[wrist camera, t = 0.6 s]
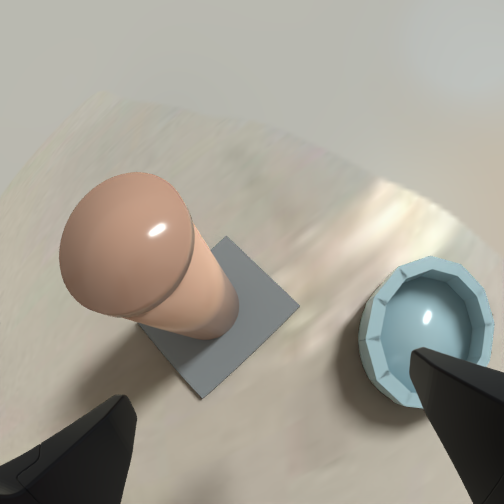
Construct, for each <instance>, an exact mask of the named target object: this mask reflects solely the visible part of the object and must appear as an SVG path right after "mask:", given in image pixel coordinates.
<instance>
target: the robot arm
mask: <svg viewBox="0 0 504 504" xmlns="http://www.w3.org/2000/svg"><path fill="white" fill-rule="evenodd" d="M409 375H410V379H411V381H412V383H413V386H414V388H415V390H416V393H417V395H418V397H419V400H420V402H421V404H422V407H423V409H424V411H425V413H426V415H427V417H428V419H429V421H430V423H431V424H432V426H433V428H434V430H435V431H436V433H437V435H438V437H439V439H440V440H441V442H442V444H443V446H444V448H445V450H446V451H447V453H448V455H449V457H450V459H451V461H452V463H453V464H454V466H455V468H456V470H457V472H458V474H459V476H460V478H461V480H462V482H463V484H464V486H465V488H466V490H467V492H468V494H469V496H470V498H471V500H472V502H473V504H504V372H500V371H497V370H494V369H491V368H487V367H484V366H481V365H478V364H475V363H472V362H468V361H465V360H462V359H459V358H456V357H453V356H450V355H447V354H444V353H441V352H438V351H435V350H432V349H429V348H426V347H421V348H417V349H414V350H413V351H412V352H411V356H410V367H409ZM136 423H137V415H136V412H135V410H134V408H133V406H132V404H131V402H130V400H129V398H128V397H127V396H126V395H114V396H112V397H111V398H110V399H108V400H107V401H105V402H104V403H102V404H101V405H99V406H98V407H96V408H95V409H93V410H92V411H90V412H89V413H87V414H86V415H84V416H83V417H81V418H80V419H78V420H77V421H75V422H73V423H72V424H70V425H69V426H67V427H66V428H64V429H63V430H61V431H60V432H58V433H56V434H55V435H53V436H52V437H50V438H49V439H47V440H45V441H44V442H42V443H41V445H40V444H39V445H37V446H36V447H34V448H33V449H31V450H29V451H28V452H26V453H24V454H23V455H21V456H19V457H17V458H15V459H13V460H11V461H9V462H7V463H5V464H3V465H1V466H0V504H120V503H121V499H122V495H123V490H124V486H125V482H126V478H127V474H128V470H129V466H130V462H131V457H132V452H133V444H134V437H135V430H136Z"/></svg>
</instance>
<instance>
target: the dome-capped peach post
mask: <svg viewBox="0 0 504 504" xmlns="http://www.w3.org/2000/svg"><path fill="white" fill-rule="evenodd" d="M59 262H60V270H61V274H62V278H63V281H64V283H65V285H66V287H67V289H68V291H69V292H70V294H71V295H72V296H73V297H74V298H75V299H76V300H77V301H78V302H79V303H80V304H81V305H83V306H84V307H86V308H88V309H90V310H92V311H95V312H98V313H101V314H104V315H107V316H112V317H118V318H120V317H122V318H125V319H129V320H132V321H135V322H138V323H142V324H145V325H148V326H152V327H155V328H158V329H162V330H165V331H169V332H173V333H176V334H180V335H184V336H187V337H191V338H195V339H199V340H211V339H215V338H218V337H220V336H222V335H224V334H225V333H226V332H227V331H229V330H230V328H231V327H232V326H233V325H234V323H235V321H236V319H237V316H238V313H239V298H238V295H237V292H236V290H235V288H234V287H233V285H232V284H231V282H230V281H229V279H228V277H227V276H226V274H225V273H224V271H223V270H222V268H221V266H220V265H219V263H218V262H217V260H216V259H215V257H214V255H213V254H212V252H211V251H210V249H209V247H208V246H207V244H206V243H205V241H204V239H203V238H202V236H201V235H200V233H199V231H198V230H197V228H196V227H195V225H194V223H193V221H192V217H191V215H190V212H189V210H188V208H187V207H186V205H185V203H184V201H183V200H182V198H181V197H180V195H179V193H178V192H177V191H176V189H175V188H174V187H173V186H172V185H171V184H169V183H168V182H167V181H166V180H164V179H162V178H160V177H158V176H155V175H153V174H148V173H141V172H134V173H126V174H121V175H118V176H115V177H112V178H110V179H108V180H106V181H104V182H102V183H101V184H99V185H98V186H96V187H95V188H93V189H92V190H91V191H90V192H89V193H88V194H86V195H85V197H84V198H83V199H82V200H81V201H80V202H79V203H78V205H77V206H76V207H75V209H74V210H73V212H72V214H71V215H70V217H69V219H68V221H67V223H66V226H65V228H64V231H63V234H62V238H61V243H60V251H59Z"/></svg>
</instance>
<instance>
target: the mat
mask: <svg viewBox="0 0 504 504" xmlns="http://www.w3.org/2000/svg"><path fill="white" fill-rule="evenodd" d="M210 251H211V252H212V254H213V255H214V257H215V259H216V260H217V262H218V263H219V265H220V266H221V268H222V270H223V271H224V273H225V274H226V276H227V277H228V279H229V281H230V282H231V284H232V285H233V287H234V288H235V290H236V292H237V295H238V298H239V313H238V316H237V319H236V321H235V323H234V325H233V326H232V327H231V328H230V330H229V331H227V332H226V333H225V334H224V335H222V336H220V337H218V338H215V339H211V340H199V339H195V338H191V337H187V336H184V335H180V334H176V333H173V332H169V331H165V330H162V329H158V328H155V327H152V326H148V325H145V324H142V323H138V324H139V325H140V326H141V328H142V329H143V330H144V331H145V333H146V334H147V335H148V336H149V338H150V339H151V340H152V341H153V343H154V344H155V345H156V346H157V348H158V349H159V350H160V351H161V352H162V354H163V355H164V356H165V357H166V358H167V360H168V361H169V362H170V363H171V364H172V365H173V367H174V368H175V369H176V370H177V371H178V372H179V373H180V375H181V376H182V377H183V378H184V379H185V380H186V381H187V382H188V384H189V385H190V386H191V387H192V388H193V389H194V390H195V391H196V392H197V393H198V394H199V395H200V397H201V398H202V399H203V398H204V397H205V396H207V395H208V394H209V393H210V392H211V391H212V390H213V389H214V388H216V387H217V386H218V385H219V384H220V383H221V382H222V381H223V380H224V379H225V378H227V377H228V376H229V375H230V374H231V373H232V372H233V371H234V370H235V369H236V368H237V367H238V366H240V365H241V364H242V363H243V362H244V361H245V360H246V359H247V358H248V357H249V356H250V355H251V354H252V353H253V352H254V351H255V350H256V349H257V348H259V347H260V346H261V345H262V344H263V343H264V342H265V341H266V340H267V339H268V338H269V337H270V336H271V335H272V334H273V333H274V332H275V331H276V330H277V329H278V328H279V327H280V326H281V325H282V324H283V323H284V322H285V321H286V320H287V319H288V318H289V317H290V316H291V315H292V314H293V313H294V312H295V311H296V310H297V309H298V308H299V307H300V305H299V304H298V303H297V302H296V301H294V300H293V299H292V298H291V297H290V296H289V295H288V294H287V293H286V292H285V291H284V290H283V289H282V288H281V287H280V286H279V285H278V284H277V283H276V282H274V281H273V280H272V279H271V278H270V277H269V276H268V275H267V274H266V273H265V272H264V271H263V270H262V269H261V268H260V267H259V266H258V265H257V264H256V263H255V262H253V261H252V260H251V259H250V258H249V257H248V256H247V255H246V254H245V253H244V252H243V251H242V250H241V249H240V248H239V247H238V246H237V245H236V244H235V243H234V242H233V241H231V240H230V239H229V238H228V237H227V236H225V237H224V238H223V239H222V240H221V241H220V242H219V243H218V244H217V245H216V246H215V247H213V248H212V249H211V250H210Z"/></svg>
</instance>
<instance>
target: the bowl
mask: <svg viewBox="0 0 504 504" xmlns="http://www.w3.org/2000/svg"><path fill="white" fill-rule="evenodd" d="M493 333H494V320H493V316H492V313H491V309H490V306H489V303H488V299H487V296H486V293H485V290H484V288H483V287H482V286H481V285H480V284H479V283H478V282H477V281H476V280H475V278H474V277H473V276H472V275H471V274H470V273H469V272H468V271H467V270H466V269H465V268H464V267H463V266H462V265H461V264H458V263H455V262H451V261H447V260H444V259H440V258H437V257H433V256H428V257H425V258H422V259H419V260H416V261H414V262H411V263H408V264H405V265H402V266H399V267H397V268H396V269H395V270H394V271H393V272H392V273H390V274H389V276H388V277H387V278H386V279H385V280H384V282H383V283H382V284H381V285H380V286H379V287H378V288H377V289H376V290H375V292H374V293H373V294H372V296H371V297H370V299H369V300H368V301H367V302H366V306H365V309H364V311H363V314H362V317H361V321H360V326H359V332H358V345H359V353H360V358H361V362H362V365H363V368H364V370H365V372H366V374H367V376H368V378H369V380H370V381H371V382H372V383H373V385H374V386H375V387H376V388H377V389H378V390H379V391H380V392H382V393H383V394H384V395H385V396H387V397H389V398H390V399H391V400H392V401H393V402H394V403H397V404H399V405H402V406H407V407H415V408H423V407H422V404H421V402H420V400H419V397H418V395H417V393H416V390H415V388H414V386H413V383H412V381H411V379H410V375H409V367H410V356H411V352H412V351H413V350H414V349H417V348H421V347H426V348H429V349H432V350H435V351H438V352H441V353H444V354H447V355H450V356H453V357H456V358H459V359H462V360H465V361H468V362H472V363H475V364H478V365H481V366H484V367H486V366H487V365H488V363H489V361H490V355H491V349H492V341H493Z"/></svg>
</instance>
